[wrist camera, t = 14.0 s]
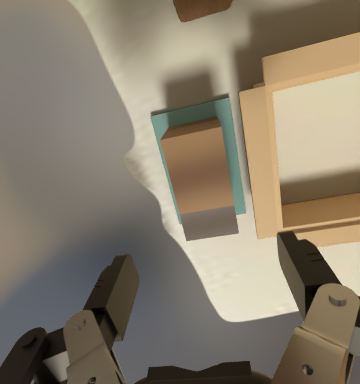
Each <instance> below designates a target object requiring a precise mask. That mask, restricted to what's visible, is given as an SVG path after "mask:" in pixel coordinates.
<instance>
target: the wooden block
mask: <svg viewBox="0 0 360 384" xmlns="http://www.w3.org/2000/svg"><path fill="white" fill-rule="evenodd" d="M173 3H174V6H175V8H176V11H177V14H178V17H179V19H180V21H181V22H187V21H191V20H194V19H197V18H200V17H204V16H207V15H210V14H214V13H217V12H220V11H224V10H227V9H228V8H229V7H230V5H231V3H232V0H173Z"/></svg>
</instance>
